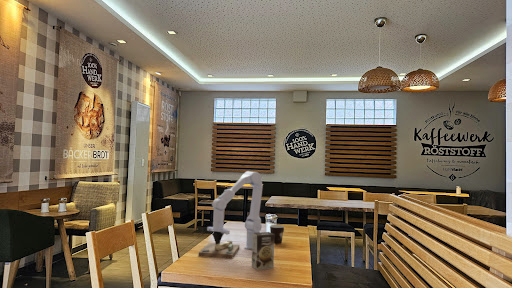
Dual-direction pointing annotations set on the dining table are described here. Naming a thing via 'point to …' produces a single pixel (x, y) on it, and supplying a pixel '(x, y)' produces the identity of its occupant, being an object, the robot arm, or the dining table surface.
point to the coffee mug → (277, 233)
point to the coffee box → (263, 250)
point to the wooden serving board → (219, 251)
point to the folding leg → (222, 245)
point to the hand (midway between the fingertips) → (217, 245)
